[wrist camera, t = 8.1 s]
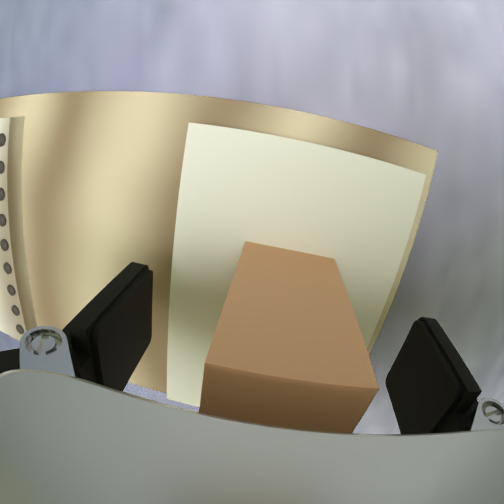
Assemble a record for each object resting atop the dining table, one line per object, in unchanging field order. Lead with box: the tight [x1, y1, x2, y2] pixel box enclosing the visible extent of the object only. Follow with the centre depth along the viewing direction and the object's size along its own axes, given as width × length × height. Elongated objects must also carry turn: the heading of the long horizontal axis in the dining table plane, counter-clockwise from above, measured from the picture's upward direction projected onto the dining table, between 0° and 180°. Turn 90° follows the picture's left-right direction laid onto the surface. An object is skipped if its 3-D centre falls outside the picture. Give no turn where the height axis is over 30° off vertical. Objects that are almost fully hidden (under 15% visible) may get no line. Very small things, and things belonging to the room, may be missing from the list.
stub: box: [167, 123, 426, 433], centre depth 9 cm, size 8×12×7 cm, turn 170°
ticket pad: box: [0, 91, 438, 393], centre depth 13 cm, size 30×14×3 cm, turn 80°
